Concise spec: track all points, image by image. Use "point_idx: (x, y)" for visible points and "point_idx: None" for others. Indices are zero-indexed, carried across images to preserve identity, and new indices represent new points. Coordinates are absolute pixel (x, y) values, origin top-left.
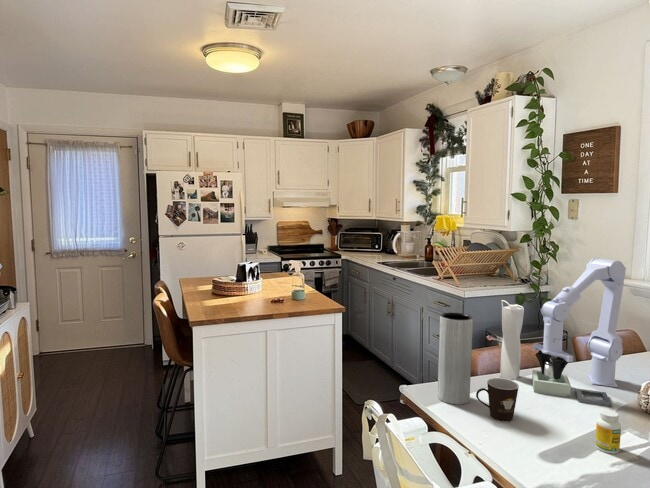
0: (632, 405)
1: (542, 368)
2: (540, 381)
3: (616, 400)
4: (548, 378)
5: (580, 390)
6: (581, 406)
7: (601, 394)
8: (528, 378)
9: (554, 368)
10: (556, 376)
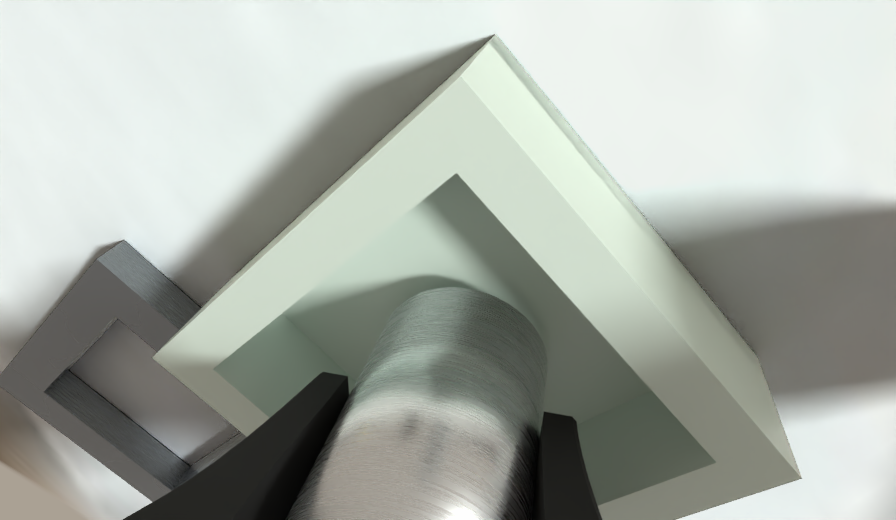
0: (43, 475)
1: (544, 479)
2: (387, 143)
3: (122, 480)
4: (412, 343)
5: None
6: (35, 169)
7: (170, 480)
8: (838, 392)
9: (236, 494)
10: (293, 404)
